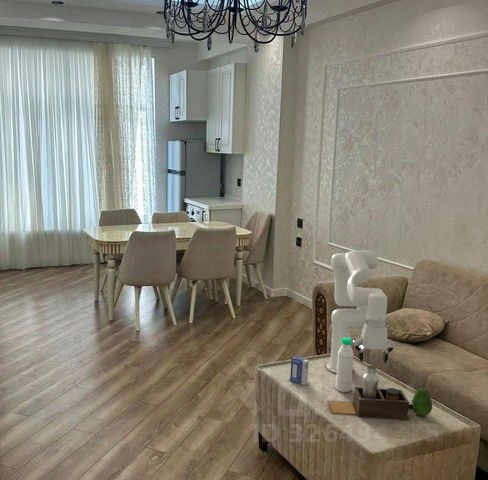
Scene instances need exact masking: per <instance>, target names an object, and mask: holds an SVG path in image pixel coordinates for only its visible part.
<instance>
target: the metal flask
mask: <svg viewBox="0 0 488 480" xmlns="http://www.w3.org/2000/svg"><path fill="white" fill-rule="evenodd" d="M376 373H377V367H376V366H374V365H367V366H366V372H365V373H364V374H363V376H362V388H363V396H362V398H366V399H376V391H377V388H378V385H379V380H380V379H379V377H378V375H377V374H376Z"/></svg>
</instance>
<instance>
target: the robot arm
mask: <svg viewBox="0 0 488 480" xmlns="http://www.w3.org/2000/svg"><path fill="white" fill-rule="evenodd" d="M378 264H379V258H378V254H377V253H376V252H375V251H373V250H369V249H368V250H367V249H366V250H361V249H360V250H359V249H357V250H350V251H348V252H338V253H337V252H336V253H334V254H333V255H332V256H331V260H330V267H331V271H332V273H333V277H334V302H335V305H337V306H338V307H356V308H336V309H335V310H333V311H332V313H331V316H330V317H331V327H332V328H331V346H330V361H329V362H328V363H326V369H327V370H328V371H329V372H331V373H334V374H337V361H338V351H339V349H340V348H341V346H342V343H341V340H342V338H344V337H348V338H351V339H352V338H353V337H352V334H351V332H349V330H348V329H362V331H361V335H360V336H361V337H360V338H357V339H355V340H353V339H352V345H353V346H354V348H355V350H357V352H358V356H357V357H358V358H357V359H358V360H359V361H360V362H361V363H363V361H364V352H365V350H374V351H375V350H378V351H383V352H382V362H383V363H384V364H387V361H388V360H389V355H390V353H391V352H393V350H394V349H395V347H396V346H397V344H396V342H394V341H393V340H390V339H389V338H388V337H389V336H388V327H387V325H390V320H389V319H388V320H387V310H388V296H387V295H386V294H385V292H384V291H383V290H382V289H381V288H378V287H362V286H360V285H362V284H365V283H366V282H367V281H369V280H370V279H371V277H372V272H371V270H375V269H376V268H377V267H378ZM359 343H360V346H359V345H358V344H359ZM388 344H389V345H390V346H389V347H388Z"/></svg>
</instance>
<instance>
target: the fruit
mask: <svg viewBox="0 0 488 480" xmlns="http://www.w3.org/2000/svg"><path fill="white" fill-rule="evenodd" d="M412 397H413V398H412V401H411V406H412V410H413V411H414V413H415V414H416V415H418V416H420V417H425V416H428V415H429V414H430V413H431V412H432V411H433V401H432V398H431V395H430V393H429V391H428V390H427V389H426V388H421V387H420V388H418V389H417V390H416V391H415V393H414V394H413V396H412Z"/></svg>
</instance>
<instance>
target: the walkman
mask: <svg viewBox="0 0 488 480" xmlns="http://www.w3.org/2000/svg"><path fill="white" fill-rule="evenodd" d="M309 362H310V360H309V359H305V358H302V357H298V356H296V355H295V356H292V357H291V358H290V372H289V373H290V375H289V376H290V377H289V381H290V382H293V383H296V384H300V385H303V386H305V385H307V384H308V380H309V365H310V363H309Z"/></svg>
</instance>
